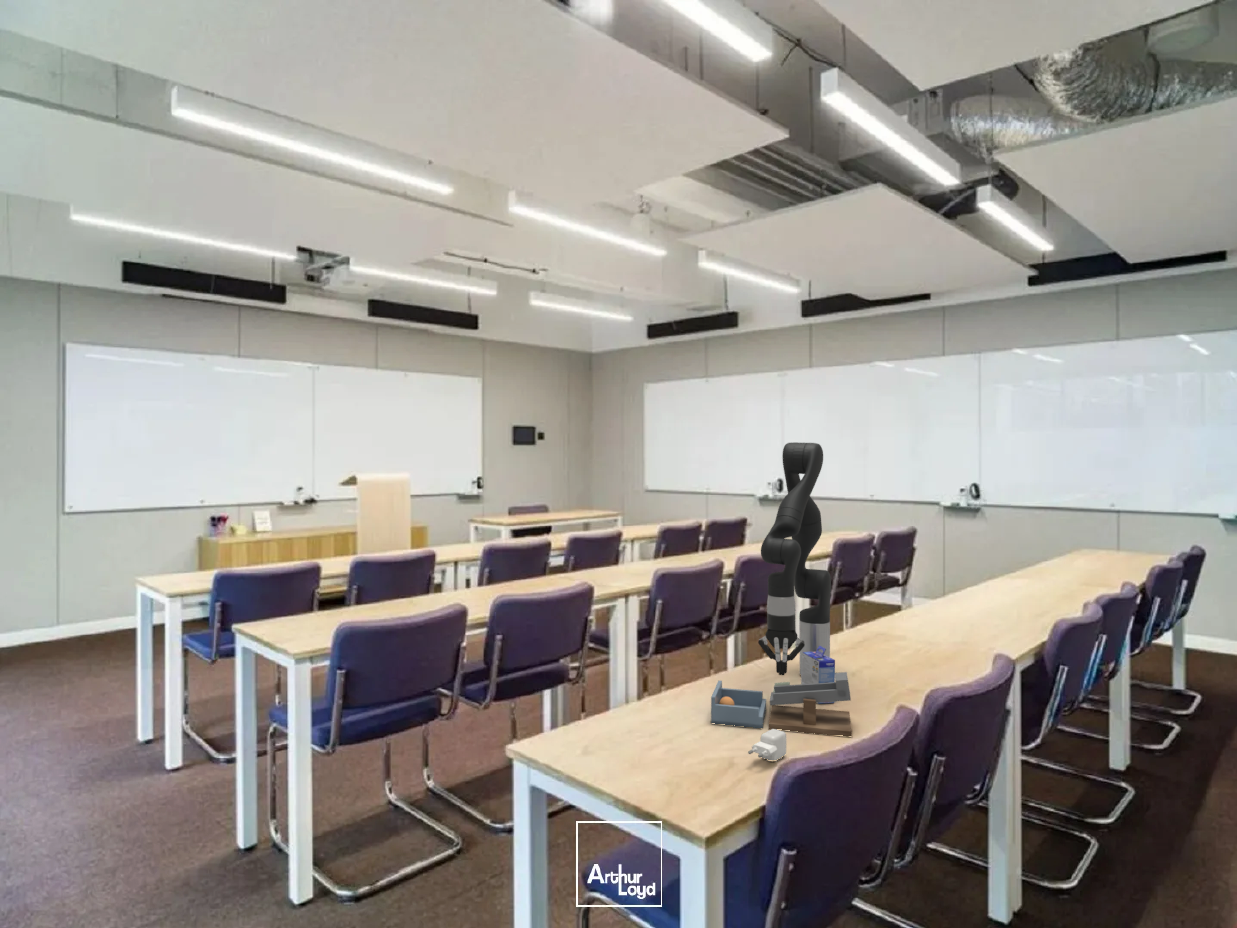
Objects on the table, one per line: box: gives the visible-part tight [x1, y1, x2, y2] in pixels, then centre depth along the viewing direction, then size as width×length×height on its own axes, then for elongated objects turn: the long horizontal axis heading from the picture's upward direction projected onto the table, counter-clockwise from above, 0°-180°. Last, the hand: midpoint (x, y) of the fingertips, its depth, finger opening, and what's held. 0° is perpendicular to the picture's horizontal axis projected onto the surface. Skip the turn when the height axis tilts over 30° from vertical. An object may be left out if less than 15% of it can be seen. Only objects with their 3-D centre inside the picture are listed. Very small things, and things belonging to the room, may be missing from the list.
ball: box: [719, 697, 734, 705], centre depth 191 cm, size 4×4×4 cm
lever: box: [769, 671, 852, 706], centre depth 189 cm, size 15×20×6 cm
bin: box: [710, 680, 767, 729], centre depth 191 cm, size 14×13×7 cm
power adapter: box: [747, 729, 787, 760], centre depth 163 cm, size 11×5×6 cm, turn 137°
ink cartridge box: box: [800, 646, 836, 705], centre depth 204 cm, size 10×6×14 cm, turn 15°
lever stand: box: [768, 699, 853, 737], centre depth 186 cm, size 14×20×8 cm
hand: (781, 674), depth 197 cm, fingers closed
